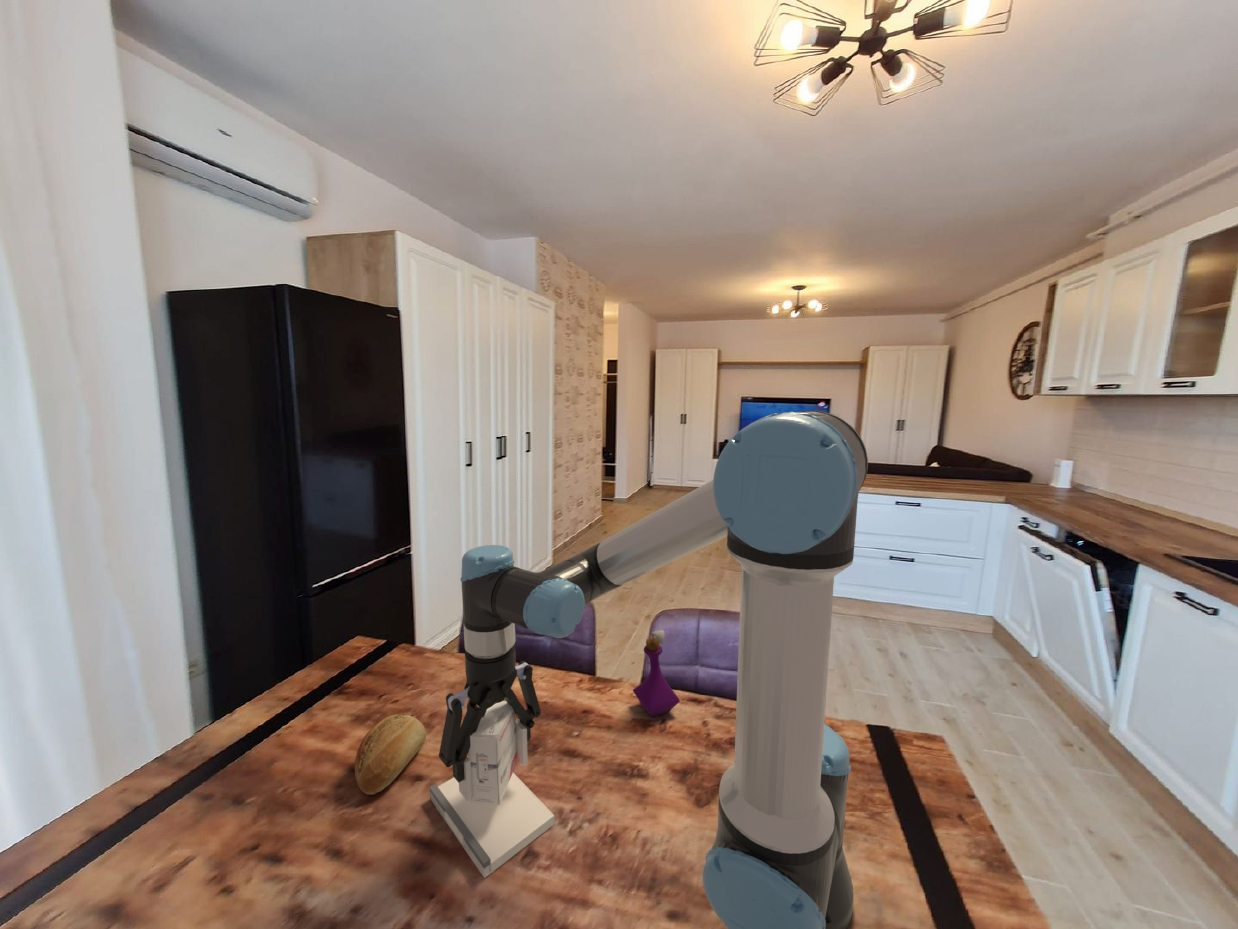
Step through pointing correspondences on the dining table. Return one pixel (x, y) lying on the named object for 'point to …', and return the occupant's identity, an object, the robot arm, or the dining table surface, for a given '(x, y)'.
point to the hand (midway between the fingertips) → (494, 776)
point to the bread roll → (387, 751)
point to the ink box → (493, 754)
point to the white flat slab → (492, 822)
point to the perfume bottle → (655, 681)
